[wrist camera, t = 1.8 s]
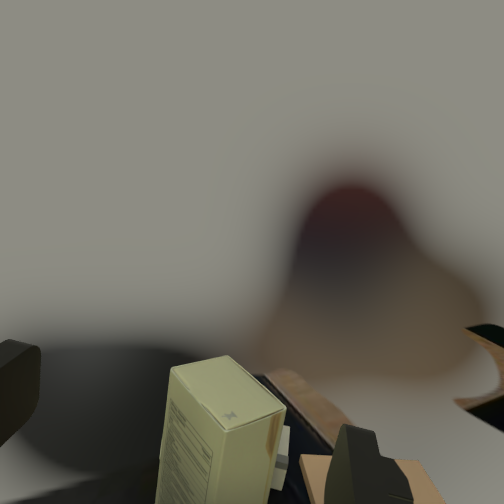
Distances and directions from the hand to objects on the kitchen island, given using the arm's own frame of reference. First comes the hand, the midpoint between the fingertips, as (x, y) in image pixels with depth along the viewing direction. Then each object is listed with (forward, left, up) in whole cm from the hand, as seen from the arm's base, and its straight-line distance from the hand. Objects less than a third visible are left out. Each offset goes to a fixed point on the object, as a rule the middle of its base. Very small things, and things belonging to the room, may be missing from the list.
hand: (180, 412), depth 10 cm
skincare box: (-3, -11, -19) cm, 22 cm away
